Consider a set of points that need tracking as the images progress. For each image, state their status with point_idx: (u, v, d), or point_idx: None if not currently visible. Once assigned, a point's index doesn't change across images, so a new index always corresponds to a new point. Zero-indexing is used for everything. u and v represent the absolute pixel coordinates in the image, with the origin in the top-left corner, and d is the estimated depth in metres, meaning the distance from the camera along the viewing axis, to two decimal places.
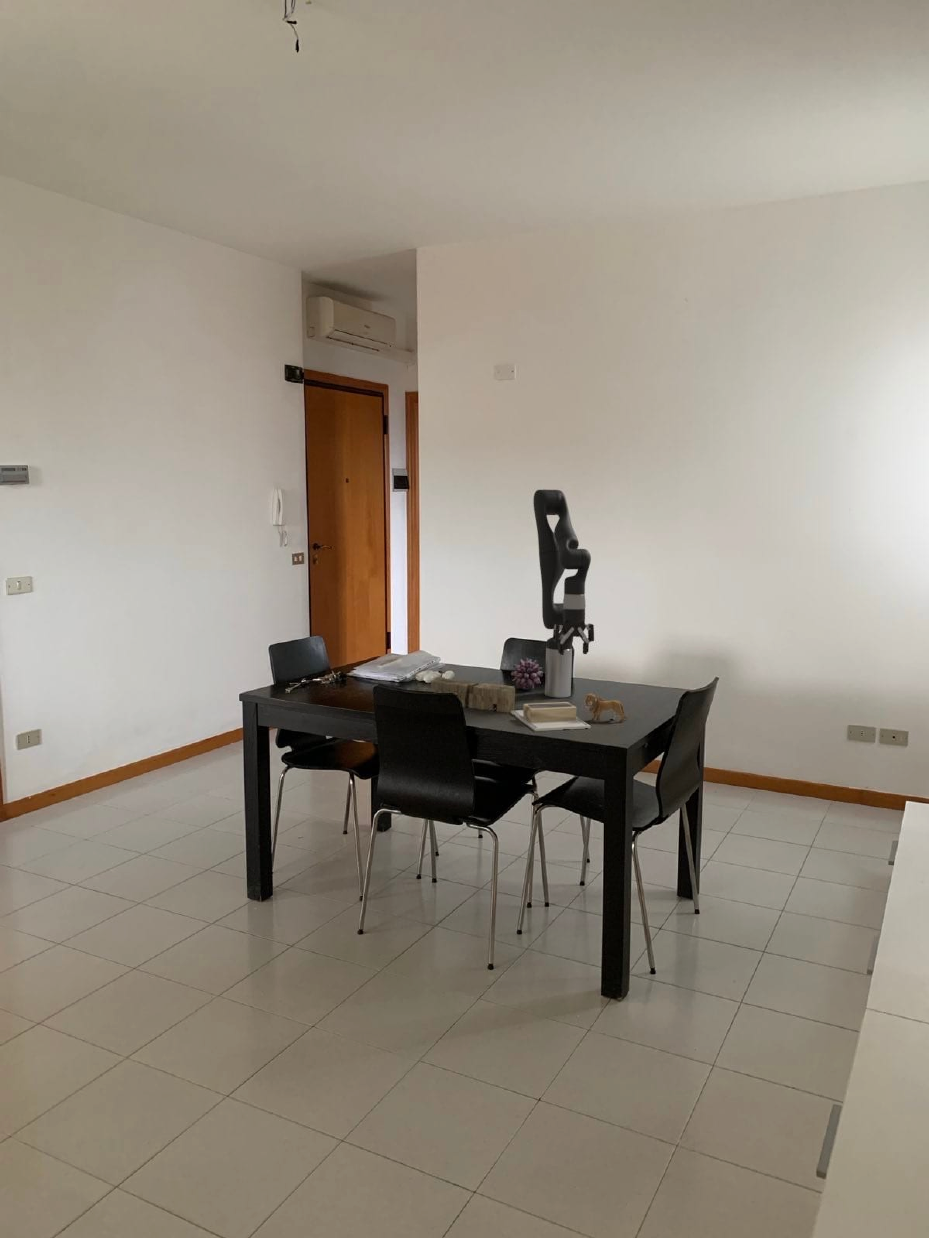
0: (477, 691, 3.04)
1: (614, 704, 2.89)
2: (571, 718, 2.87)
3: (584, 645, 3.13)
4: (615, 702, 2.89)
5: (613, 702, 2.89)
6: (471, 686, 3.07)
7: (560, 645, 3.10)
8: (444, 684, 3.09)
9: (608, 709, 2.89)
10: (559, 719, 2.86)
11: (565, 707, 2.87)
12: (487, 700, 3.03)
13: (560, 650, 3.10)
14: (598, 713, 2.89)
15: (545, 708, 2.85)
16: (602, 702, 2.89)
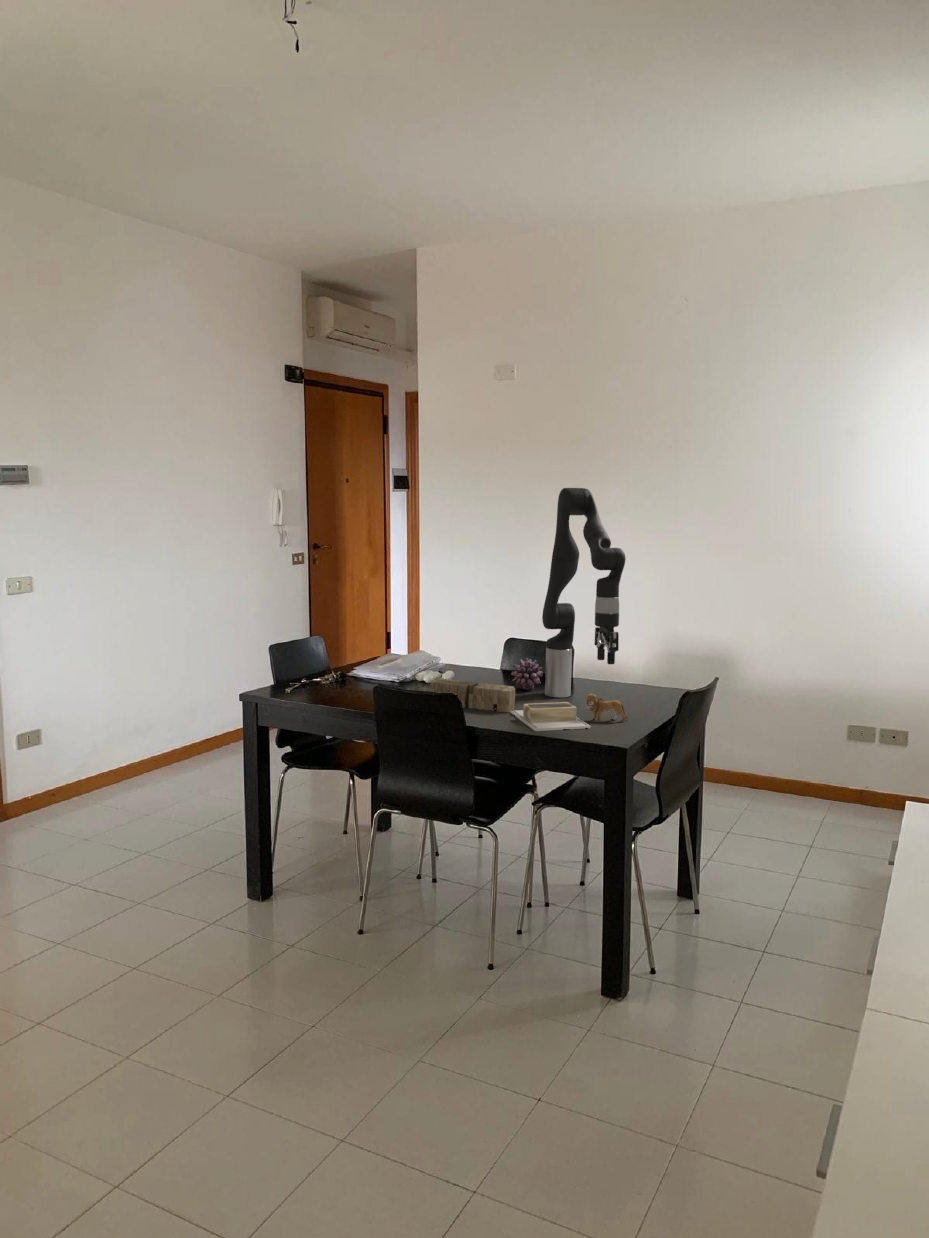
0: (477, 692, 3.04)
1: (614, 704, 2.89)
2: (571, 718, 2.87)
3: (602, 650, 2.92)
4: (616, 702, 2.89)
5: (614, 702, 2.89)
6: (471, 686, 3.07)
7: None
8: (444, 684, 3.08)
9: (609, 709, 2.89)
10: (559, 719, 2.86)
11: (565, 707, 2.87)
12: (487, 700, 3.02)
13: None
14: (599, 713, 2.89)
15: (545, 708, 2.85)
16: (603, 702, 2.89)
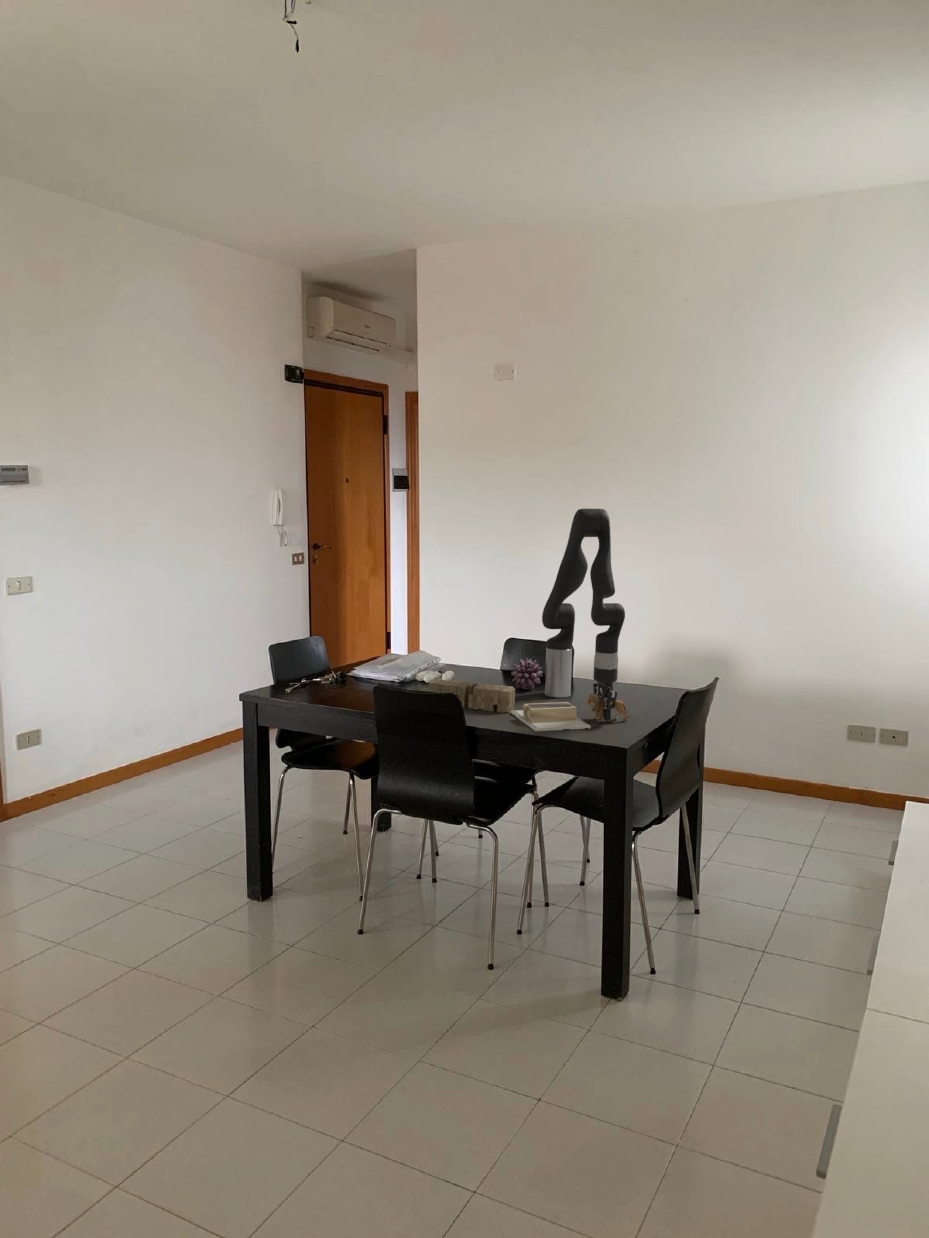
0: (477, 692, 3.03)
1: (616, 704, 2.89)
2: (571, 718, 2.87)
3: None
4: (618, 702, 2.89)
5: (616, 702, 2.89)
6: (470, 687, 3.06)
7: None
8: (443, 685, 3.07)
9: (611, 709, 2.89)
10: (559, 719, 2.86)
11: (565, 707, 2.87)
12: (487, 701, 3.02)
13: None
14: (601, 713, 2.89)
15: (545, 708, 2.85)
16: None
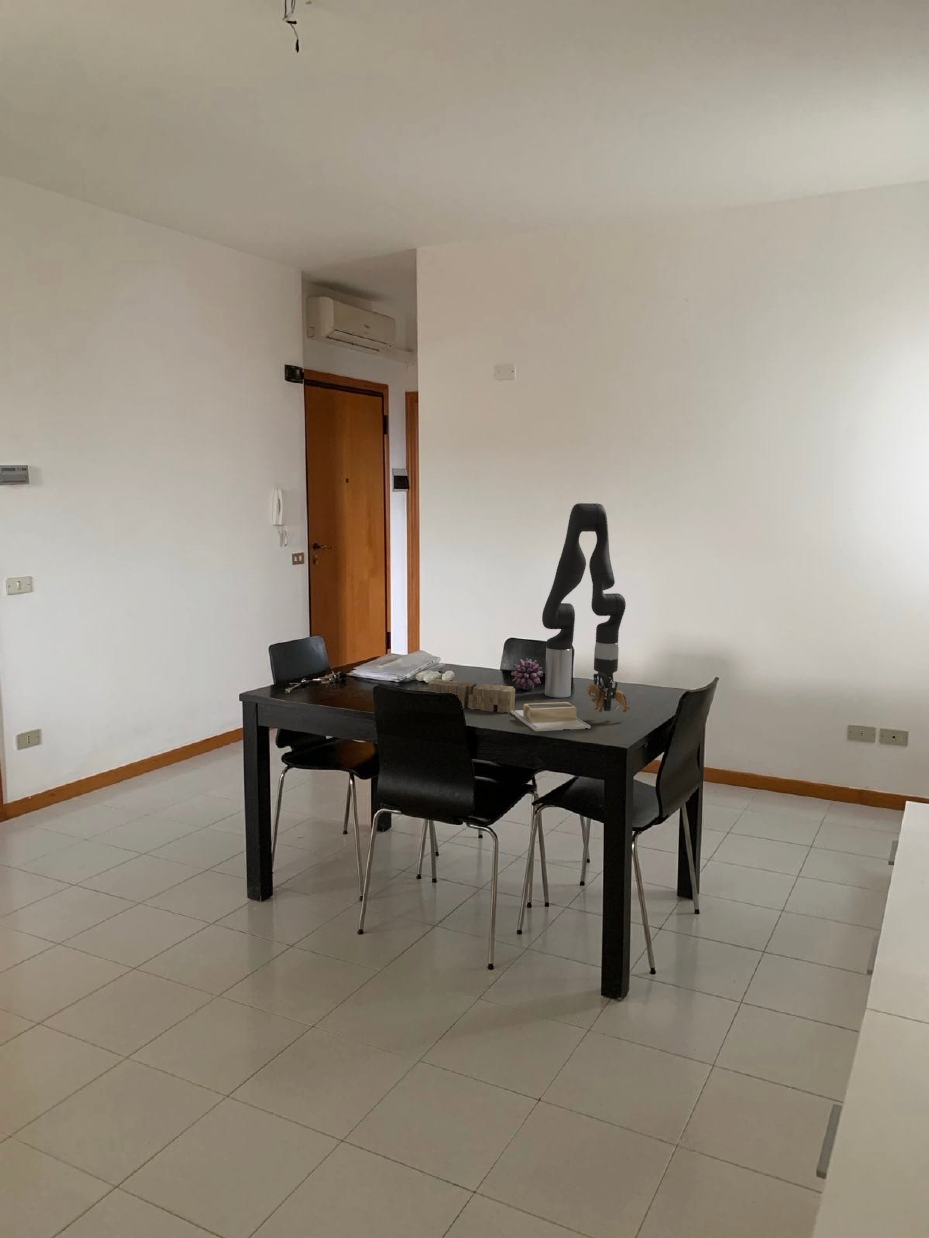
0: (477, 692, 3.02)
1: (616, 694, 2.88)
2: (571, 718, 2.87)
3: None
4: (618, 692, 2.89)
5: (616, 692, 2.89)
6: (470, 687, 3.06)
7: None
8: (442, 686, 3.06)
9: (611, 699, 2.89)
10: (559, 719, 2.86)
11: (565, 707, 2.87)
12: (487, 701, 3.01)
13: None
14: (601, 703, 2.88)
15: (545, 708, 2.85)
16: None
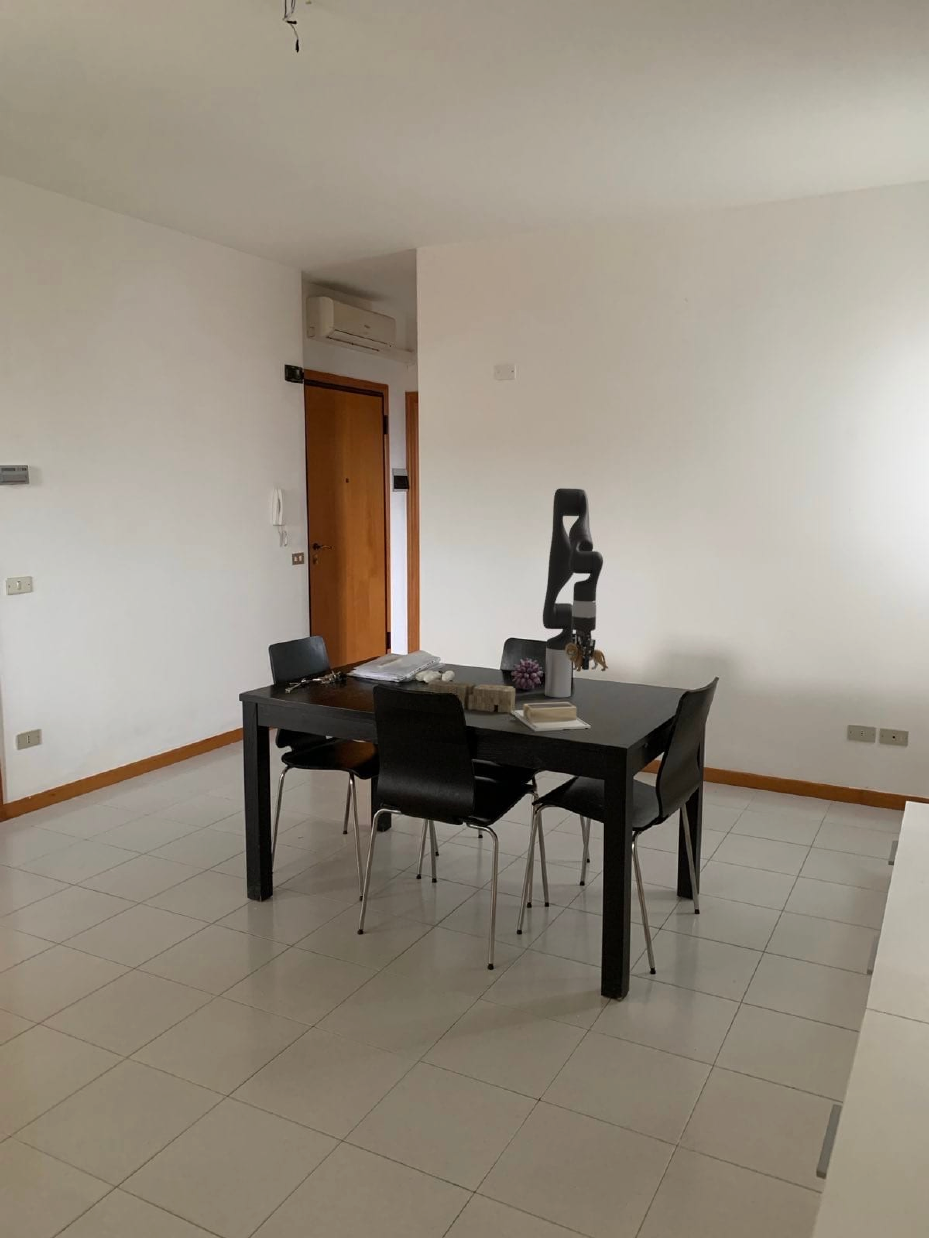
0: (477, 693, 3.02)
1: (595, 653, 2.86)
2: (571, 718, 2.87)
3: None
4: (596, 651, 2.87)
5: (594, 651, 2.87)
6: (470, 687, 3.05)
7: None
8: (442, 686, 3.05)
9: (589, 658, 2.87)
10: (559, 719, 2.86)
11: (565, 707, 2.87)
12: (487, 701, 3.01)
13: None
14: (579, 662, 2.86)
15: (545, 708, 2.85)
16: None
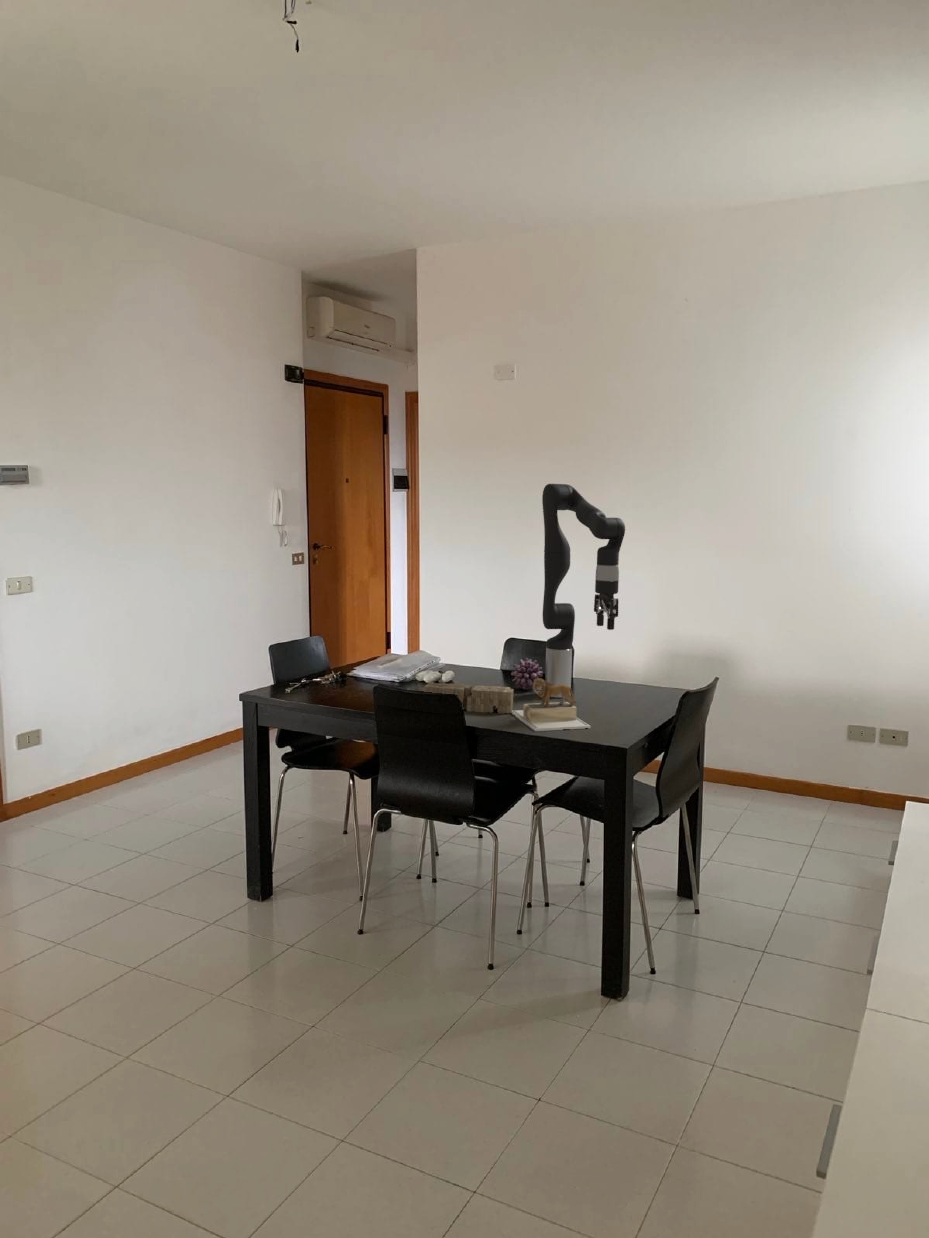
0: (476, 694, 2.99)
1: (563, 689, 2.87)
2: (571, 718, 2.87)
3: (601, 617, 3.04)
4: (564, 686, 2.87)
5: (562, 686, 2.88)
6: (467, 689, 3.02)
7: None
8: (439, 689, 3.01)
9: (557, 694, 2.88)
10: (559, 719, 2.86)
11: (565, 707, 2.87)
12: (487, 702, 2.99)
13: None
14: (547, 698, 2.87)
15: (545, 708, 2.85)
16: (551, 687, 2.87)
